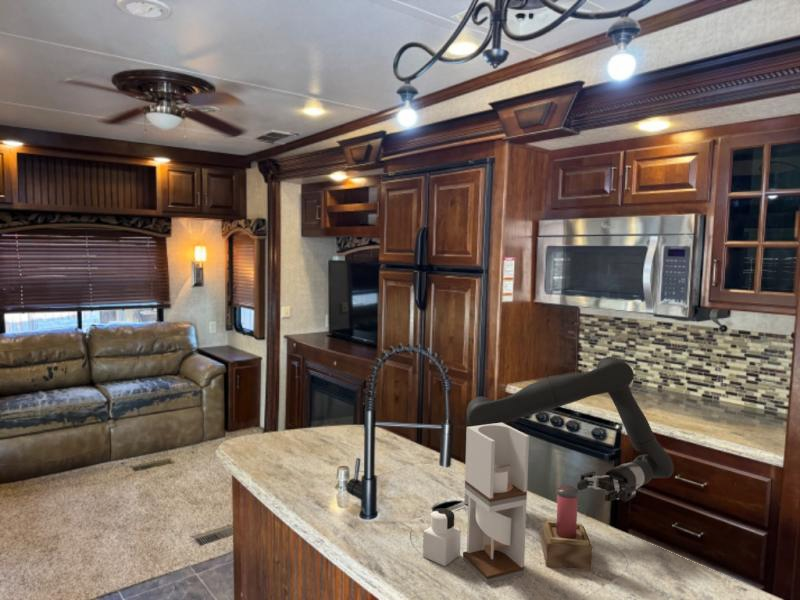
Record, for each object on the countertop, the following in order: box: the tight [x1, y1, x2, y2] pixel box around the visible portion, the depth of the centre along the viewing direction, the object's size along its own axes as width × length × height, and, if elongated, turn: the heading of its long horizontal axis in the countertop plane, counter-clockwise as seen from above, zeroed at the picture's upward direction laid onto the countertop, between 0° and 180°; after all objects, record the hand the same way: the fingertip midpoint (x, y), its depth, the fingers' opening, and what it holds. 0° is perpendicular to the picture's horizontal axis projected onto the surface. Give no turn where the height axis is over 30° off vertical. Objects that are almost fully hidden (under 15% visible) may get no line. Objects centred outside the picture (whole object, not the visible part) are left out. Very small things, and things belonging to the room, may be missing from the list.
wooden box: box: [540, 520, 593, 571], centre depth 145 cm, size 11×11×7 cm
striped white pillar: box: [462, 423, 530, 585], centre depth 138 cm, size 11×11×35 cm
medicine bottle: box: [422, 507, 462, 567], centre depth 144 cm, size 7×7×12 cm
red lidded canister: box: [556, 484, 579, 539], centre depth 144 cm, size 5×5×12 cm
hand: (592, 492), depth 151 cm, fingers open, 8 cm apart
